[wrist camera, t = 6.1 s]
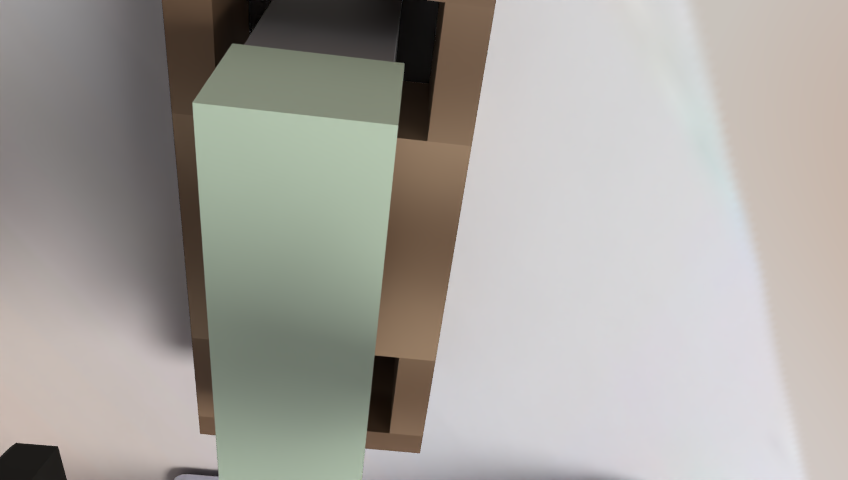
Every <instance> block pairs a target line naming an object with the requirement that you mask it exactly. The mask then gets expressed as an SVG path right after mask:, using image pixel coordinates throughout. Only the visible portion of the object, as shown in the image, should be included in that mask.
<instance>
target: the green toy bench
mask: <svg viewBox="0 0 848 480" xmlns="http://www.w3.org/2000/svg"><path fill="white" fill-rule="evenodd" d="M401 7H402V0H272V1H271V3H270V5H269V6H268V8H267V9H266V11H265V12H264V14H263V16H262V17H261V19H260V20H259V22H258V23H257V25H256V27H255V28H254V30H253V31H252V33H251V35H250V36H249V38H248V39H247V41H246V42H245V44H244V45H242V44H233V43H232V45H231V46H230V48H229V49H228V51H227V52H226V54H225V55H224V57H223V58H222V60H221V61H220V62H219V64H218V65H217V67H216V68H215V70H214V71H213V73H212V74H211V76H210V77H209V79H208V80H207V82H206V83H205V85H204V86H203V88H202V89H201V91H200V92H199V94H198V95H197V97H196V98H195V99H194V101H193V102H192V105H193V119H194V133H195V148H196V162H197V176H198V190H199V204H200V219H201V233H202V247H203V261H204V275H205V290H206V304H207V318H208V332H209V346H210V361H211V375H212V389H213V403H214V417H215V432H216V446H217V460H218V474H219V480H362V473H363V463H364V453H365V444H366V434H367V424H368V415H369V405H370V395H371V385H372V376H373V366H374V356H375V347H376V337H377V327H378V317H379V308H380V298H381V288H382V279H383V269H384V259H385V250H386V240H387V230H388V220H389V211H390V201H391V191H392V182H393V172H394V162H395V152H396V143H397V133H398V123H399V114H400V104H401V94H402V85H403V75H404V65H405V63H398V62H396V56H397V49H398V38H399V28H400V17H401Z"/></svg>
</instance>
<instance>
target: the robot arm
mask: <svg viewBox="0 0 848 480" xmlns="http://www.w3.org/2000/svg"><path fill="white" fill-rule="evenodd" d="M0 480H67V479H66V475H65V471H64V468H63V464H62V460H61V456H60V453H59V449H58V446H46V445H34V444H22V443H15V444H14V445H13V446H11V447H10V448H9V449H8V450H7V451H6V452H5V453H4V454H3V455H2V456H1V457H0ZM174 480H219V477H216V476H205V475H193V474H182V475H179V476H177V477H176V478H175V479H174Z"/></svg>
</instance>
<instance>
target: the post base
mask: <svg viewBox="0 0 848 480" xmlns="http://www.w3.org/2000/svg"><path fill="white" fill-rule="evenodd" d="M429 1H437V2H439V7H438V15H437V23H436V31H435V39H434V47H433V55H432V63H431V71H430V79H429V83H420V82H411V81H403V85H402V94H401V104H400V114H399V123H398V133H397V143H396V152H395V162H394V172H393V182H392V191H391V201H390V211H389V220H388V230H387V240H386V250H385V259H384V269H383V279H382V288H381V298H380V308H379V317H378V327H377V337H376V347H375V356H374V366H373V376H372V385H371V395H370V405H369V415H368V424H367V434H366V444H365V448H366V449H377V450H389V451H400V452H411V453H420V449H421V443H422V437H423V431H424V425H425V420H426V414H427V408H428V402H429V396H430V390H431V384H432V378H433V372H434V366H435V360H436V354H437V348H438V342H439V336H440V330H441V324H442V318H443V312H444V307H445V301H446V295H447V289H448V283H449V277H450V271H451V265H452V259H453V253H454V247H455V241H456V235H457V229H458V223H459V217H460V211H461V205H462V199H463V193H464V188H465V182H466V176H467V170H468V164H469V158H470V152H471V146H472V140H473V134H474V128H475V122H476V116H477V110H478V104H479V98H480V92H481V86H482V80H483V74H484V69H485V63H486V57H487V51H488V45H489V39H490V33H491V27H492V21H493V15H494V9H495V3H496V0H429ZM162 6H163V18H164V29H165V41H166V52H167V63H168V75H169V86H170V97H171V109H172V120H173V131H174V143H175V154H176V165H177V177H178V188H179V199H180V211H181V222H182V233H183V245H184V256H185V267H186V279H187V290H188V301H189V313H190V324H191V335H192V347H193V358H194V369H195V381H196V392H197V403H198V415H199V426H200V434H208V435H216V432H215V417H214V403H213V389H212V375H211V361H210V346H209V332H208V318H207V304H206V290H205V275H204V261H203V247H202V233H201V219H200V204H199V190H198V176H197V162H196V148H195V133H194V119H193V105H192V102H193V101H194V99H195V98H196V97H197V95H198V94H199V92H200V91H201V89H202V88H203V86H204V85H205V83H206V82H207V80H208V79H209V77H210V76H211V74H212V73H213V71H214V70H215V68H216V67H217V65H218V64H219V62H220V61H221V60H222V58H223V57H224V55H225V54H226V52H227V51H228V49H229V48H230V46H231V45H232V43H233V44H242V45H244V44H245V42H246V41H247V39H248V38H249V7H248V0H162Z"/></svg>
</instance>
